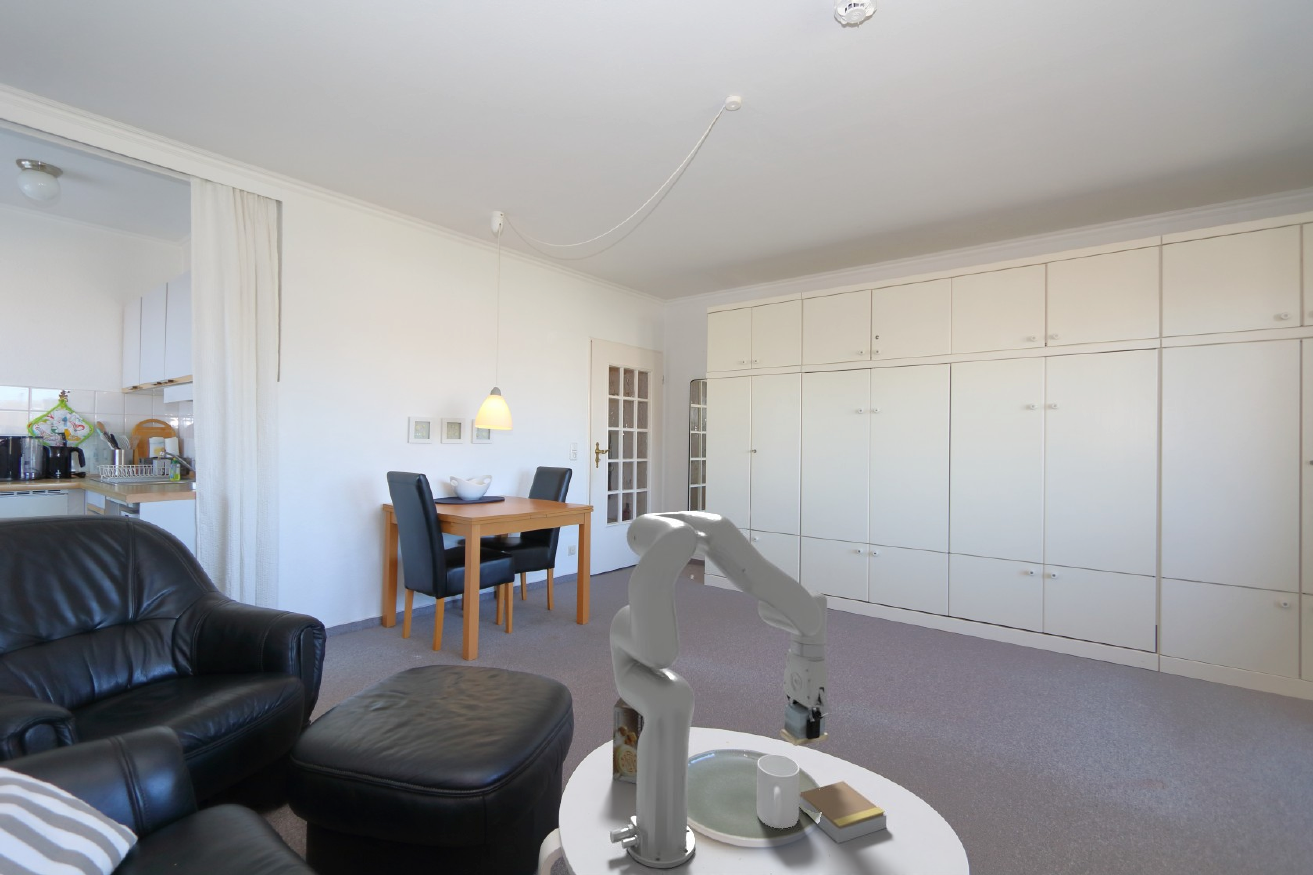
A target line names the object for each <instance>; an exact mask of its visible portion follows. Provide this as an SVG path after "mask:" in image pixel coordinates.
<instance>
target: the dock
mask: <svg viewBox="0 0 1313 875" xmlns="http://www.w3.org/2000/svg"><path fill="white" fill-rule="evenodd" d="M819 789H820V790H819ZM799 803H800V805H802V806H803V807H804V808H806V809H807V810H810V811H811V812H814V813H820V812H822V814H821V817H820V822H819V823H818V825H817V826H819V828H820V829H822V830H823V831H824V832H825V833H826V834H827V835H828V836H829V837H830V838H831V839H833V841H835V842H836V843H837V844H840V843H843V842H848V841H850V840H852V839H853V840H854V839H856V838H858V837H859V838H860V837H863V836H865V835H869V834H871V833H875V832H878V831H881V830H883V829H887V814H885V810H884V809H882V808H881V807H879V806H877V805H876V804H874V803H872V802H871V801H870V800H869V799H868V798H866V797H865V796H863V795H862V794H861V793H859V792H858V791H857V790H856V789H854V788H853V787H852V786H851V785H849V784H848V783H846V782H845V781H844V780H842V781H838V782H836V783H831V784H828V785H824V786H821V787H817V788H813V789H809V790H805V791H802V792H800V793H799Z"/></svg>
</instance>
